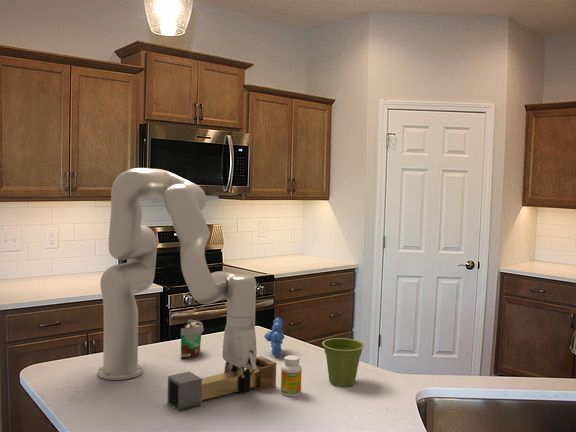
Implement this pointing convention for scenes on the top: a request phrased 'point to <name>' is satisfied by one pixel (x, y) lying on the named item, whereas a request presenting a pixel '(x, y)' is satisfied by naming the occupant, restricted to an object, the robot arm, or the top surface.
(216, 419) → the top surface
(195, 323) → the food container
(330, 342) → the plant pot
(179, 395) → the steel sleeve
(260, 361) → the walnut socket
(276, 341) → the grapes
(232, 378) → the long gold plank
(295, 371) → the supplement bottle
